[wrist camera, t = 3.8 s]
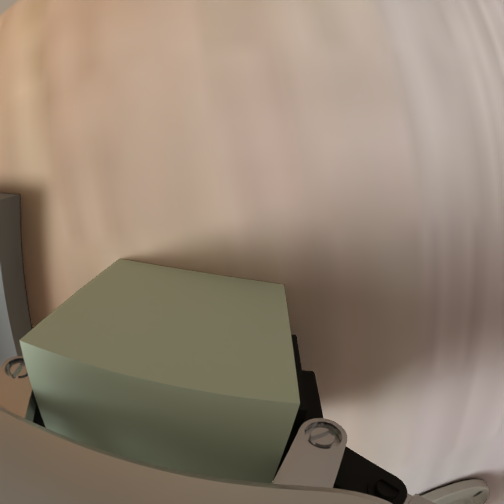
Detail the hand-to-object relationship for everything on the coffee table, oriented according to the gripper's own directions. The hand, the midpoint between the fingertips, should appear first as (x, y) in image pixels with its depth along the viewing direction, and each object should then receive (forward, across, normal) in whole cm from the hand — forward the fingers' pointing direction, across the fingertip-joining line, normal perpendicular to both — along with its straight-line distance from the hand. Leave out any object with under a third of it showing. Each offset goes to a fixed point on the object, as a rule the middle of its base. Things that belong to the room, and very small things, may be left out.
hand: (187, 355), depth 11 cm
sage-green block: (+1, 0, 0) cm, 1 cm away
